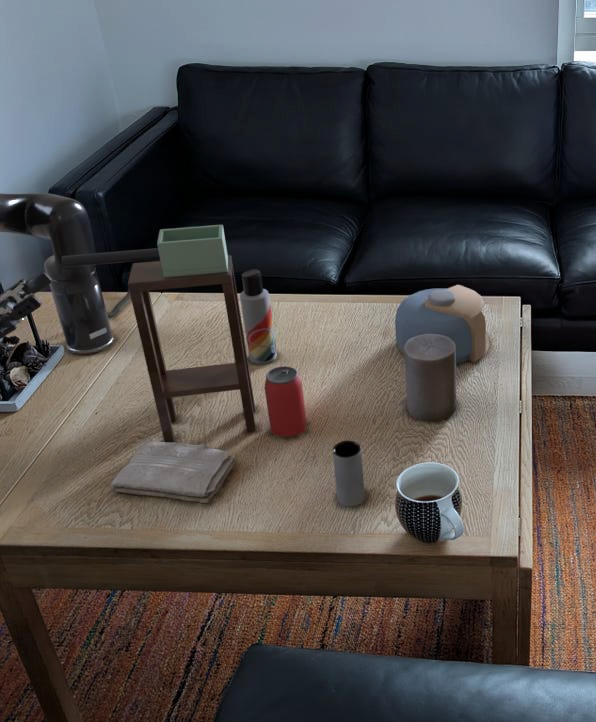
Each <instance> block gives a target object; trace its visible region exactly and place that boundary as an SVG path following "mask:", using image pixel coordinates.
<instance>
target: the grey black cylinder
mask: <svg viewBox="0 0 596 722" xmlns="http://www.w3.org/2000/svg"><path fill="white" fill-rule="evenodd" d="M362 452H363V451H362V446H361V444H360V443H358V442H357V441H354V440H350V439H349V440H342V441H339V442H337V443H336V444H335V445H334V446H333V447H332V460H333V470H334V471H333V472H334V480H335V488H336V489H335V490H336V498H337V499H336V500H337V502H338V504H339V505H341V506H343V507H348V508H351V507H352V508H353V507H357V506H359V505H360V504H362V503H363V502H364V501H365V497H366V493H365V480H364V467H363V453H362Z"/></svg>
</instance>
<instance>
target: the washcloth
mask: <svg viewBox="0 0 596 722" xmlns="http://www.w3.org/2000/svg"><path fill="white" fill-rule="evenodd" d="M236 462H237V459H236V457H235V456H233V455H230V453H229V451H228V450H224V449H223V450H222V449H216V448H212V447H209V446H208V445H206V444H187V443H181V442H172V443H169V442H164V441H158V440H147V441H143V442H142V443H141V444H140V445H139V447H138V448H137V449H136V451H135V452H134V453H133V456H132V458H131V459H130V461H129V462H128V464H126V465H124V467H123V468H122V469H121V470H120V471H119V472H118V474H117V475H115V477H114V478H113V480H112V481H111V483H110V489H111V491H112V492H117V493H123V494H130V495H131V494H132V495H138V496H148V497H149V496H150V497H160V498H161V497H162V498H167V499H168V498H169V499H173V500H181V501H183V502H184V501H186V502H198V503H200V504H209V503H210V501H211V500H212V498H213V496H215V494H216V493H217V492H218V491H219V489H220V488H221V487H222V486H223V483H224V481H225V480H226V479H227V477H228V475H229V474H230V472H231V471H232V469H233V468H234V466H235V465H236Z"/></svg>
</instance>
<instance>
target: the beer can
mask: <svg viewBox="0 0 596 722" xmlns="http://www.w3.org/2000/svg"><path fill="white" fill-rule="evenodd" d="M264 393H265V394H264V395H265V401H266V407H267V413H268V421H269V428H270V431H271V433H272V434H273V435H275V436H276V437H279V438H285V439H286V438H294V437H297V436H299V435H301V434H302V433H303V432H304V431H305V430H306V429H307V425H308V422H307V414H306V405H305V398H304V397H305V396H304V389H303V381H302V380H301V377H300V376H299V372H298V370H297V369H295V368H294V367H291V366H287V365H286V366H277V367H274V368H272V369H270V370H269V371H268V372H267V373H266V375H265V380H264Z"/></svg>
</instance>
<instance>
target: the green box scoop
mask: <svg viewBox="0 0 596 722" xmlns="http://www.w3.org/2000/svg"><path fill="white" fill-rule="evenodd" d="M156 246H157V248H145V249H143V248H142V249H132V250H122V251H121V250H119V251H110V252H109V251H108V252H98V253H97V252H95V254H83V255H71V256H62V264H63V266H64V267H76V266H87V265H95V266H96V265H97V266H99V265H108V264H110V265H111V264H121V263H132V262H133V263H135V262H146V261H158V260H159V261H161V265H162V270H163V275H164V278H167V277H178V276H189V275H200V274H211V273H222V272H228V255H229V254H228V249H227V243H226V236H225V230H224V225H223V224H214V225H213V224H212V225H200V226H187V227H186V226H185V227H176V228H162V229H159V232H158V238H157V244H156Z"/></svg>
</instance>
